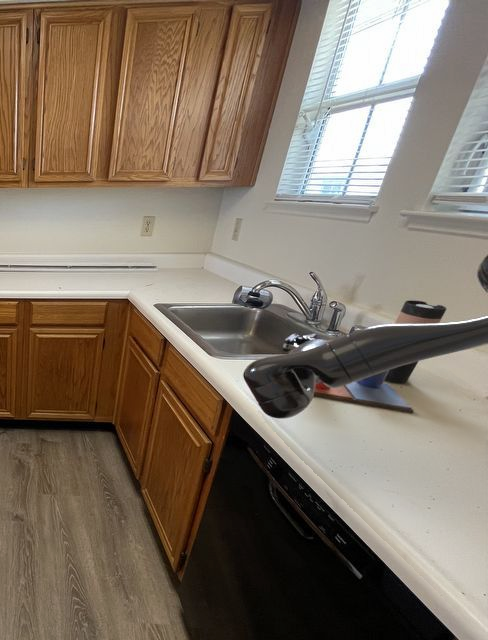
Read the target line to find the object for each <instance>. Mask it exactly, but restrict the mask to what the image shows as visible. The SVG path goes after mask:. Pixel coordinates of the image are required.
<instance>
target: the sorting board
mask: <svg viewBox="0 0 488 640" xmlns="http://www.w3.org/2000/svg"><path fill="white" fill-rule="evenodd" d="M313 397H316V398H322V399H329V400H333V401H340V402H344V403H346V402H347V403H351V404H357V405H362V406H370V407H375V408H380V409H385V410H392V411H396V412H398V411H399V412H403V413H410V414H413V413H414V409H413V408H412V406H411V405H409V403H407V401H405V400H404V398H403V397H402V396H401V395H400V394H398V393H397V391H395V390H394V389H393V388H392V387H391V386H390V385H389V384H388V383H387V382H383V384H382V386H381V388H378V389H376V388H369V387H365V386H363V385H360V384H358V383H357V382H352V383H351V384H348V385H345V386H342V387H338V388H330V389H328V390H324V389H318V388H315V391H314V395H313Z"/></svg>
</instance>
